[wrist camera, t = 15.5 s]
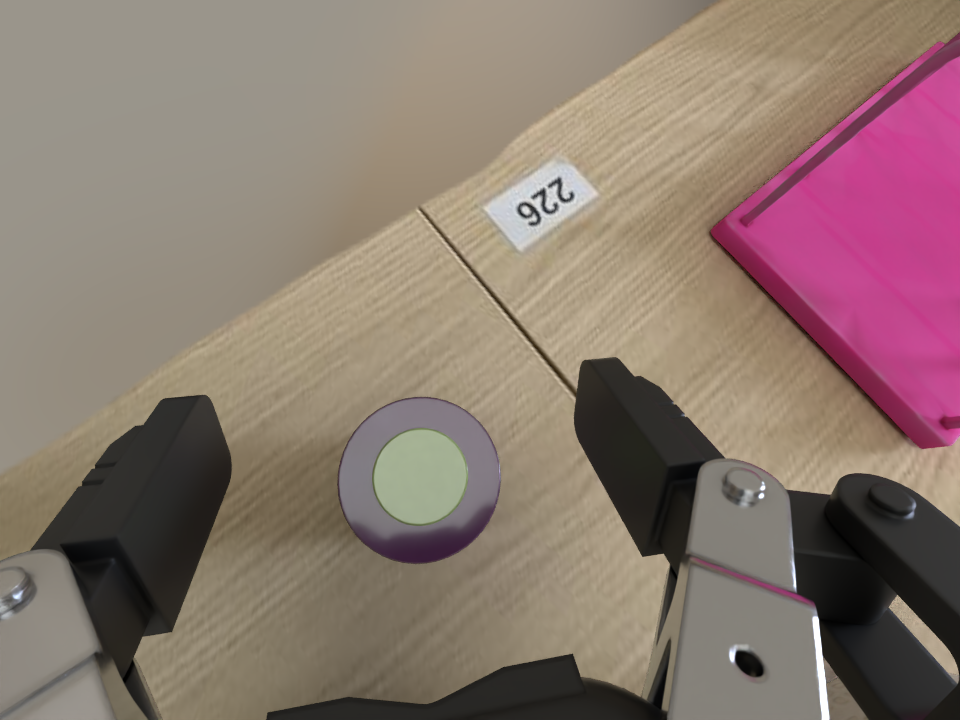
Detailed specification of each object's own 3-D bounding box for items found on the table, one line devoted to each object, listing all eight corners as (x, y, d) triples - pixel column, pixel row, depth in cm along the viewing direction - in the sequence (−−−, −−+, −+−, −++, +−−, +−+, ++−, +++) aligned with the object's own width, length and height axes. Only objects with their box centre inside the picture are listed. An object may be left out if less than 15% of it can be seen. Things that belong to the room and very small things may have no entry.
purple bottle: (389, 547, 23) (359, 602, 12) (360, 451, 24) (307, 421, 13) (482, 510, 23) (533, 530, 13) (450, 419, 24) (473, 366, 14)
